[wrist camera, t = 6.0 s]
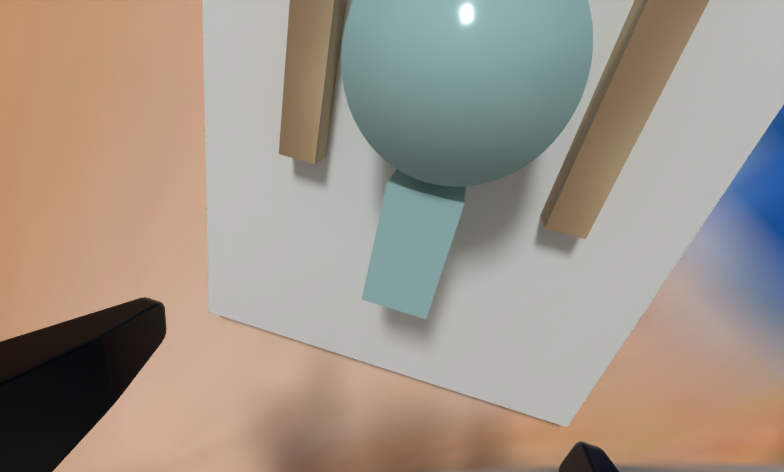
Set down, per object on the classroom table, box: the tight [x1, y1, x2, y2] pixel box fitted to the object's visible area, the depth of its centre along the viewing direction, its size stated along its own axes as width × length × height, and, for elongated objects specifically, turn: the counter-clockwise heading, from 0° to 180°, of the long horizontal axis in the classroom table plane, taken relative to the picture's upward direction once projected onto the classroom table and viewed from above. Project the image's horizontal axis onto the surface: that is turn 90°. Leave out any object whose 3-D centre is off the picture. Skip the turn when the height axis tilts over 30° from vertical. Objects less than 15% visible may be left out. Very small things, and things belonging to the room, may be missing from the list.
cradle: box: [279, 0, 709, 239], centre depth 12 cm, size 12×10×1 cm
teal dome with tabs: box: [341, 0, 593, 319], centre depth 12 cm, size 12×6×4 cm, turn 167°
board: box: [202, 0, 784, 427], centre depth 16 cm, size 20×21×1 cm
